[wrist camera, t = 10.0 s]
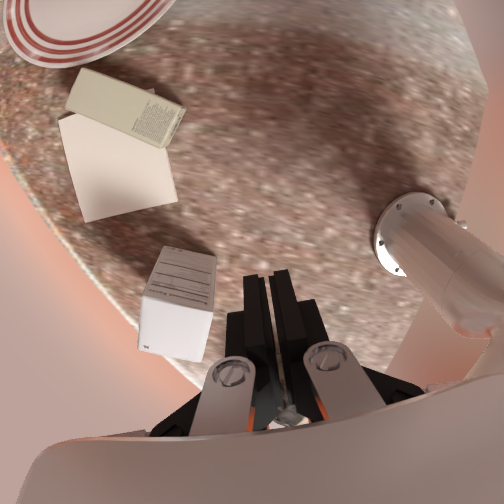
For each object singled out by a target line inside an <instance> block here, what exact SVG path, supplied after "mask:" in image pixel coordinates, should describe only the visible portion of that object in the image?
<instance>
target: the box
mask: <svg viewBox="0 0 504 504" xmlns="http://www.w3.org/2000/svg"><path fill="white" fill-rule="evenodd" d="M65 109H67V110H70V111H72V112H75V113H77V114H80V115H82V116H85V117H87V118H90V119H92V120H94V121H97V122H99V123H102V124H104V125H106V126H109V127H111V128H113V129H116V130H118V131H120V132H123V133H125V134H127V135H129V136H132V137H134V138H136V139H138V140H141V141H143V142H145V143H147V144H150V145H152V146H154V147H156V148H159V149H162V148H164V147H166V146H168V145H169V143H170V141H171V139H172V137H173V135H174V133H175V131H176V129H177V127H178V125H179V123H180V121H181V119H182V117H183V115H184V113H185V111H186V108H185V107H184V106H181V105H179V104H177V103H175V102H172V101H170V100H168V99H165V98H163V97H161V96H158V95H156V94H154V93H151V92H149V91H146V90H144V89H141V88H139V87H136V86H134V85H131V84H129V83H126V82H124V81H121V80H118V79H116V78H113V77H110V76H108V75H105V74H102V73H99V72H97V71H94V70H91V69H87V68H81V70H80V72H79V74H78V76H77V78H76V81H75V83H74V84H73V86H72V89H71V92H70V95H69V97H68V100H67V102H66V105H65Z"/></svg>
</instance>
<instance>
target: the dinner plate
mask: <svg viewBox="0 0 504 504" xmlns="http://www.w3.org/2000/svg"><path fill="white" fill-rule="evenodd" d="M175 1H176V0H5V1H4V7H3V24H4V30H5V34H6V36H7V39H8V41H9V43H10V45H11V46H12V48H13V49H14V50H15V52H16V53H17V54H18V55H19V56H20V57H22V58H23V59H25V60H26V61H28V62H30V63H32V64H34V65H38V66H41V67H46V68H67V67H73V66H78V65H82V64H86V63H89V62H92V61H94V60H97V59H99V58H102V57H104V56H107V55H109V54H110V53H112V52H114V51H116V50H118V49H120V48H122V47H123V46H125V45H127V44H128V43H130V42H131V41H133V40H134V39H136V38H137V37H138V36H140V35H141V34H142V33H143V32H145V31H146V30H147V29H148V28H150V27H151V26H152V25H153V24H154V23H155V22H156V21H157V20H159V19H160V18H161V17H162V16H163V15H164V14H165V13H166V12H167V11H168V9H169V8H170V7H171V6H172V5H173V3H174V2H175Z"/></svg>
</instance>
